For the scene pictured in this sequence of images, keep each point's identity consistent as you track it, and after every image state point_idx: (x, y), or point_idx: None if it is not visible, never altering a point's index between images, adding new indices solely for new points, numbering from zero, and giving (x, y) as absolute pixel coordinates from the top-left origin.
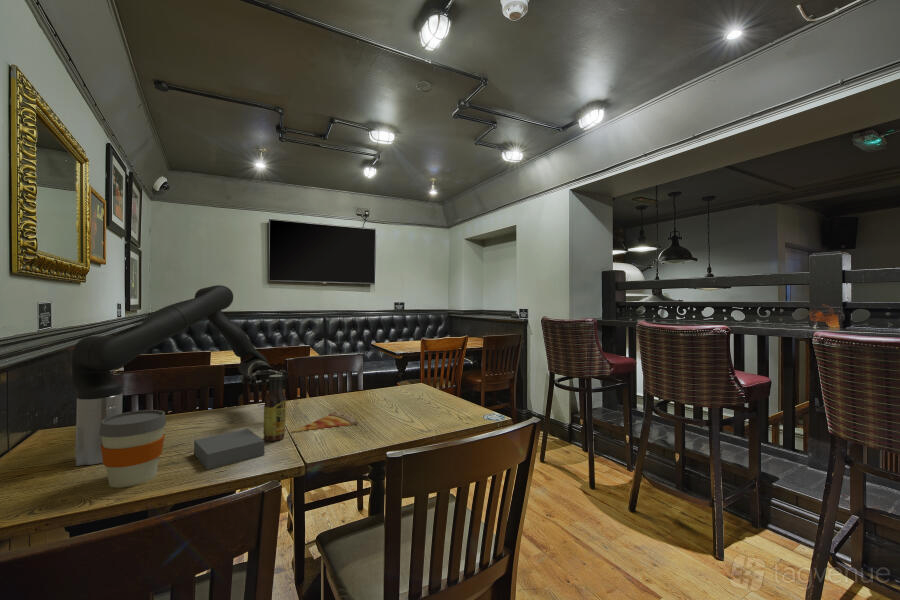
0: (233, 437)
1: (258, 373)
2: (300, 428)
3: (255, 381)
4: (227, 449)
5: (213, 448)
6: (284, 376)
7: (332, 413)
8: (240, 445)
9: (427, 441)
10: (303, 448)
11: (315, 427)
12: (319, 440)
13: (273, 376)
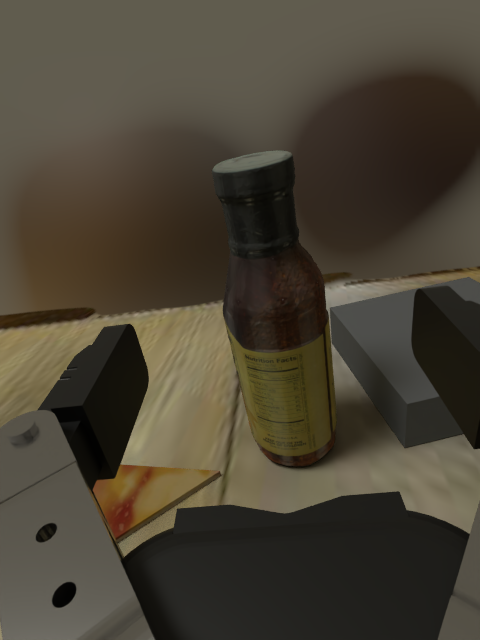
0: None
1: (473, 527)
2: (165, 496)
3: (418, 316)
4: (424, 287)
5: (471, 296)
6: (84, 355)
7: None
8: (394, 298)
9: (10, 319)
10: (230, 349)
11: (109, 480)
12: (169, 379)
13: (269, 151)
